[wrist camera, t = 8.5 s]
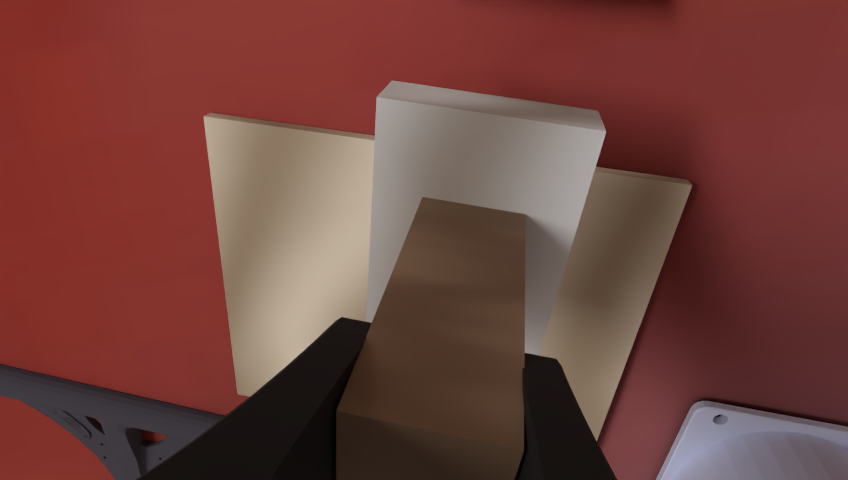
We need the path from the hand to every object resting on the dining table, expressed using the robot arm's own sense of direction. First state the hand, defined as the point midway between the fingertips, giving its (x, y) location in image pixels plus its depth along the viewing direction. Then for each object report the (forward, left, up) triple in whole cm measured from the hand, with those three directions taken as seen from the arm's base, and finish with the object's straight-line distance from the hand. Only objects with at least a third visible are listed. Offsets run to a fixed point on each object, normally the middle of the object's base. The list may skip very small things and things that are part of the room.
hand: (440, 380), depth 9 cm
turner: (0, 0, -6) cm, 6 cm away
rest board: (+2, +5, -9) cm, 11 cm away
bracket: (+17, +21, -10) cm, 29 cm away
